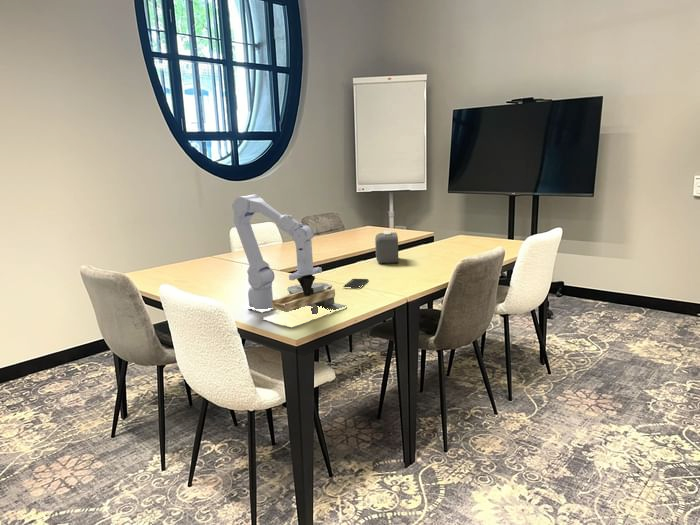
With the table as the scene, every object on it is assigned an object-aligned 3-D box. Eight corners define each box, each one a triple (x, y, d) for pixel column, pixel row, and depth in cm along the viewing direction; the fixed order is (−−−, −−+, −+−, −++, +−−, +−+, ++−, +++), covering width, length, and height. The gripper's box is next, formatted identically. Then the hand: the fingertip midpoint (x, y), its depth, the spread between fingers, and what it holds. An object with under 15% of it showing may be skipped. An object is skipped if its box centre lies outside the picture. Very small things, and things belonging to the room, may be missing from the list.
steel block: (313, 298, 193) (313, 287, 192) (305, 296, 197) (304, 285, 196) (324, 295, 197) (323, 285, 196) (315, 293, 200) (315, 283, 199)
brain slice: (309, 286, 235) (309, 280, 234) (338, 291, 224) (337, 285, 223) (277, 297, 220) (276, 290, 219) (306, 303, 209) (305, 296, 209)
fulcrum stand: (291, 328, 179) (290, 319, 178) (261, 320, 190) (261, 311, 189) (346, 308, 199) (346, 299, 198) (317, 301, 210) (317, 293, 209)
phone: (342, 286, 228) (352, 278, 242) (342, 289, 228) (352, 280, 242) (360, 287, 225) (369, 279, 239) (360, 290, 226) (369, 281, 240)
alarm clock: (398, 264, 271) (397, 234, 268) (376, 265, 272) (375, 235, 268) (396, 257, 287) (395, 229, 284) (375, 258, 288) (374, 230, 284)
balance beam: (291, 321, 181) (290, 304, 180) (269, 315, 189) (268, 299, 188) (339, 304, 199) (338, 289, 197) (317, 300, 206) (316, 285, 205)
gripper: (297, 264, 183) (299, 301, 186) (326, 256, 194) (328, 292, 196) (284, 262, 188) (286, 298, 191) (313, 255, 198) (315, 289, 201)
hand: (307, 295), depth 194 cm, fingers closed
